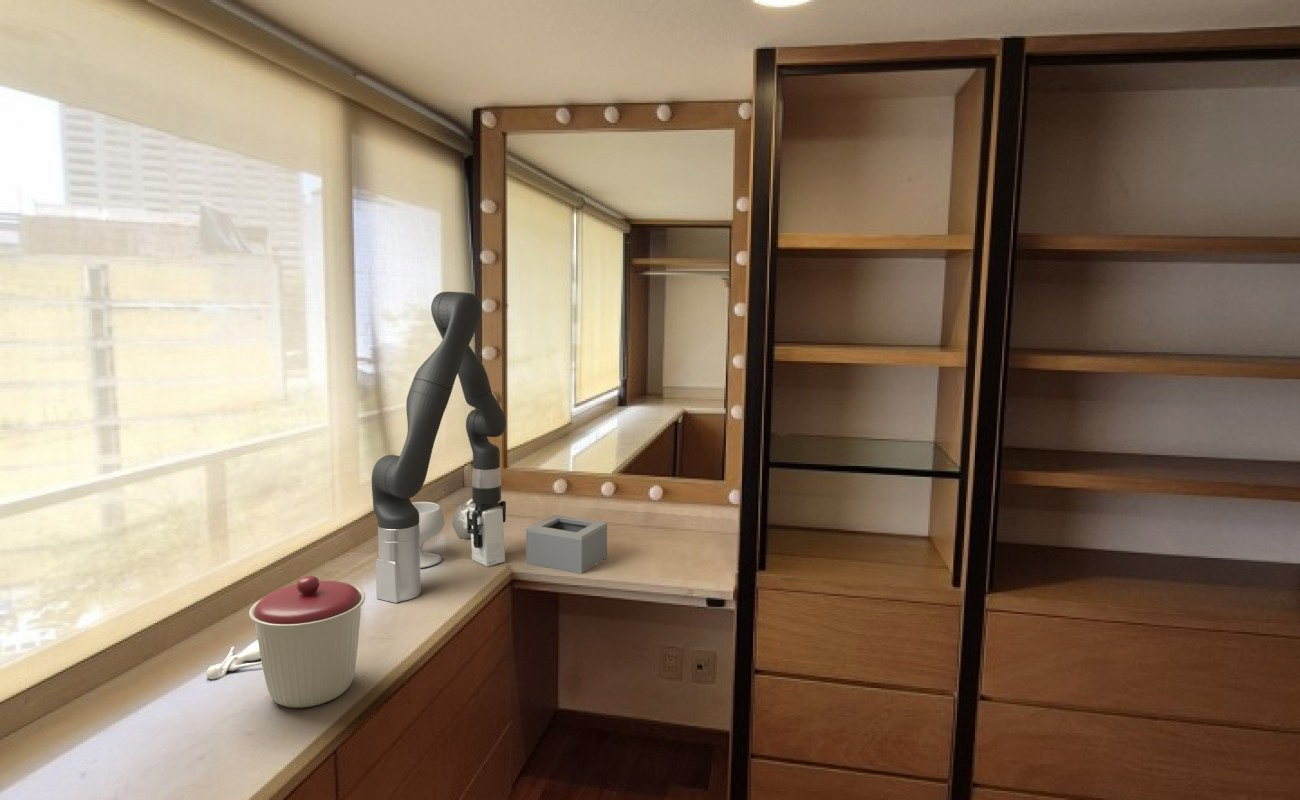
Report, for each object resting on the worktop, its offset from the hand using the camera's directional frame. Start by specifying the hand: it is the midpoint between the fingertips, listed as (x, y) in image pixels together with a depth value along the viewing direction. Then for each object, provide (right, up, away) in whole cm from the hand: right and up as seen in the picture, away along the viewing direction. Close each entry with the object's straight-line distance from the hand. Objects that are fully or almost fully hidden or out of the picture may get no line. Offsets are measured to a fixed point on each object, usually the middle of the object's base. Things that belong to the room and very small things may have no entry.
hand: (487, 543), depth 191 cm
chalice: (-18, -5, -1) cm, 19 cm away
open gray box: (+21, -5, +2) cm, 22 cm away
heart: (-11, -2, +22) cm, 25 cm away
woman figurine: (-32, -12, -55) cm, 65 cm away
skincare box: (0, -5, +1) cm, 5 cm away
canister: (-15, -13, -67) cm, 70 cm away
